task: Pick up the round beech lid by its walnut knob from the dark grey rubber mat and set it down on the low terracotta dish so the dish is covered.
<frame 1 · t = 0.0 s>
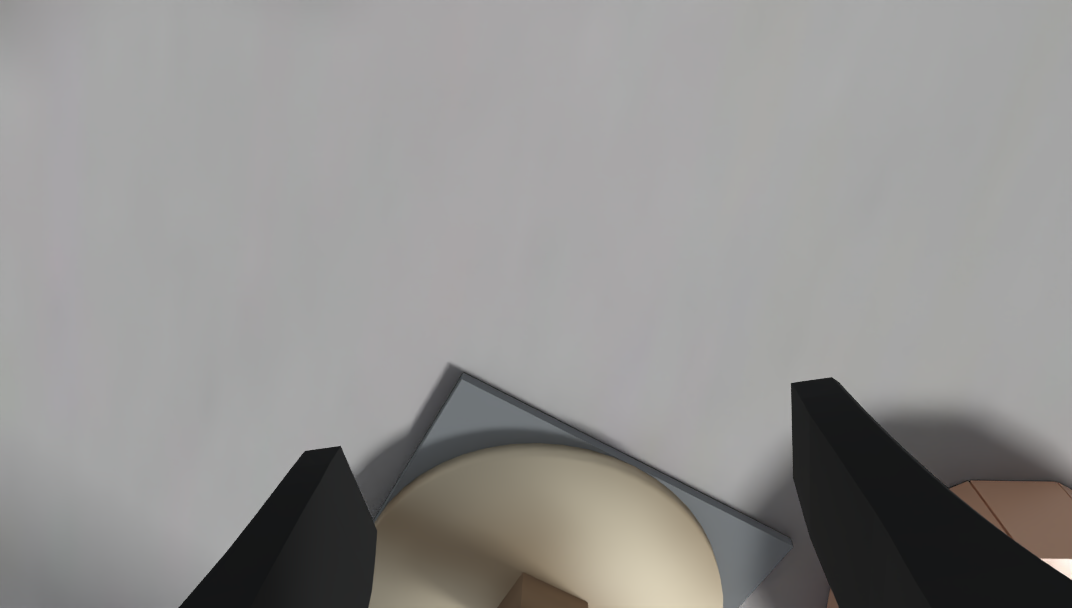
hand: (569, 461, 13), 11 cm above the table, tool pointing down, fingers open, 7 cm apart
mat: (538, 585, 28), on the table
dish: (978, 604, 28), on the table
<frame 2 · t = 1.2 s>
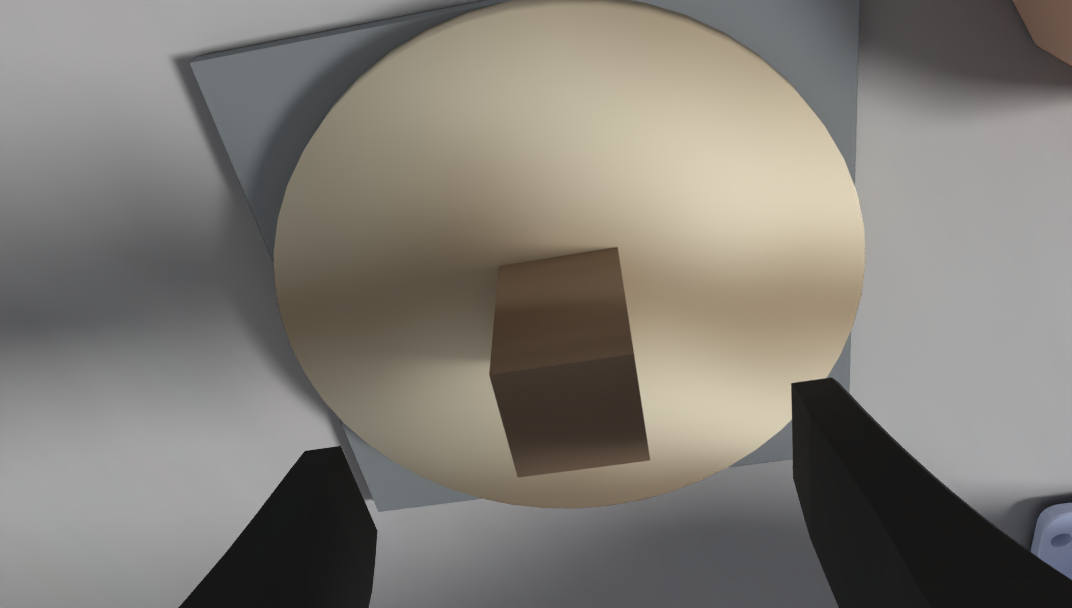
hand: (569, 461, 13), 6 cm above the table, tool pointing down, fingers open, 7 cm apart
mat: (566, 276, 18), on the table
lid: (569, 344, 16), on the mat
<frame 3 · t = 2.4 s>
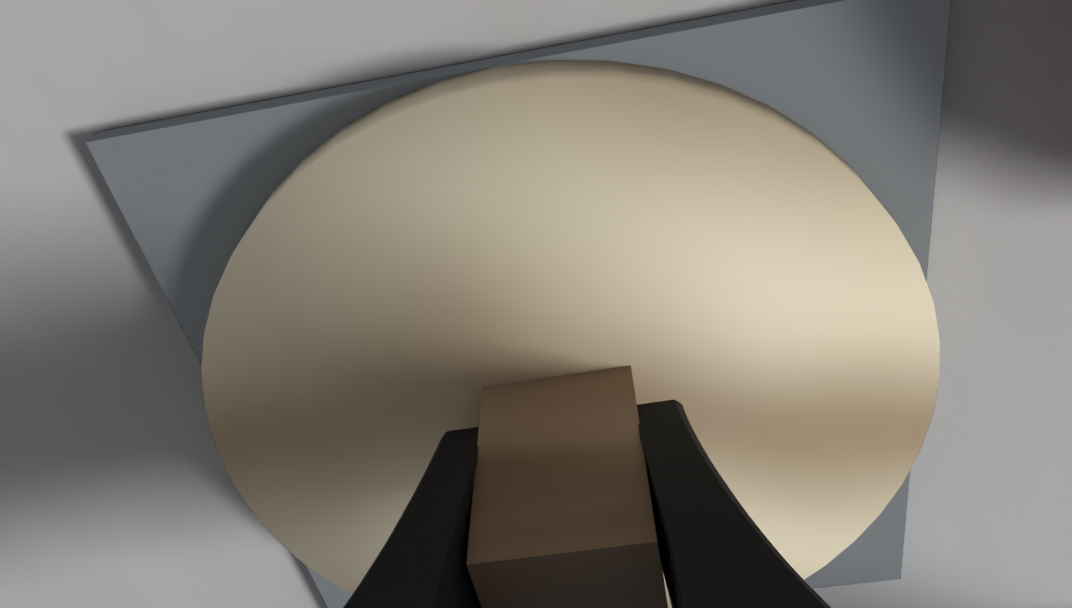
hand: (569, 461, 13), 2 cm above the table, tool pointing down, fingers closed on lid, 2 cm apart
mat: (566, 385, 15), on the table
lid: (570, 491, 13), on the mat, touching gripper
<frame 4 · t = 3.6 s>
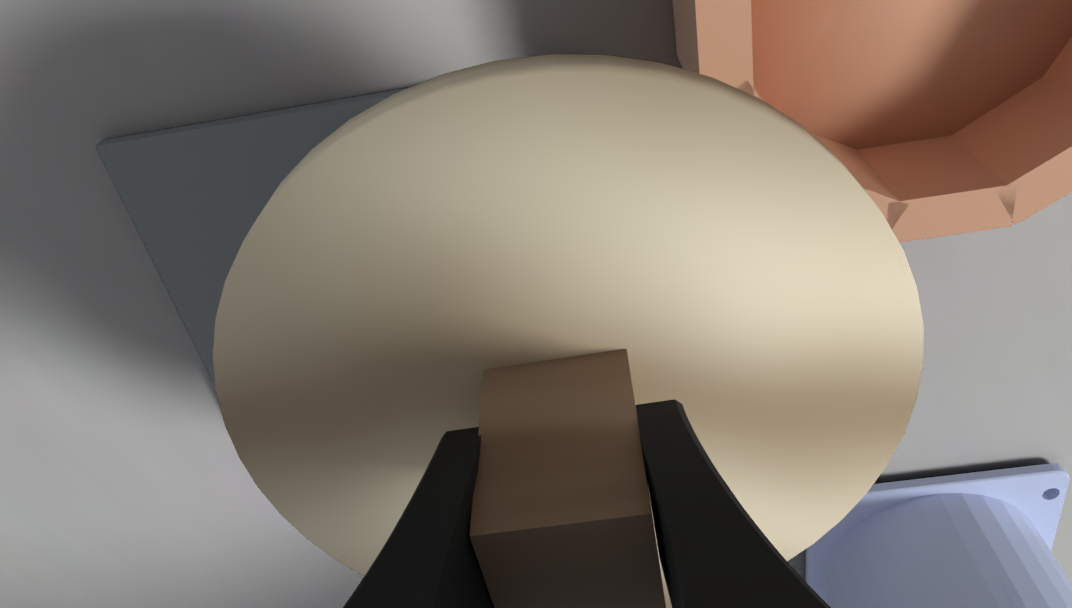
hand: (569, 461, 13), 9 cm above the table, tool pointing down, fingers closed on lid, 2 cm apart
mat: (403, 306, 23), on the table
lid: (568, 469, 13), point 10 cm above the table, touching gripper
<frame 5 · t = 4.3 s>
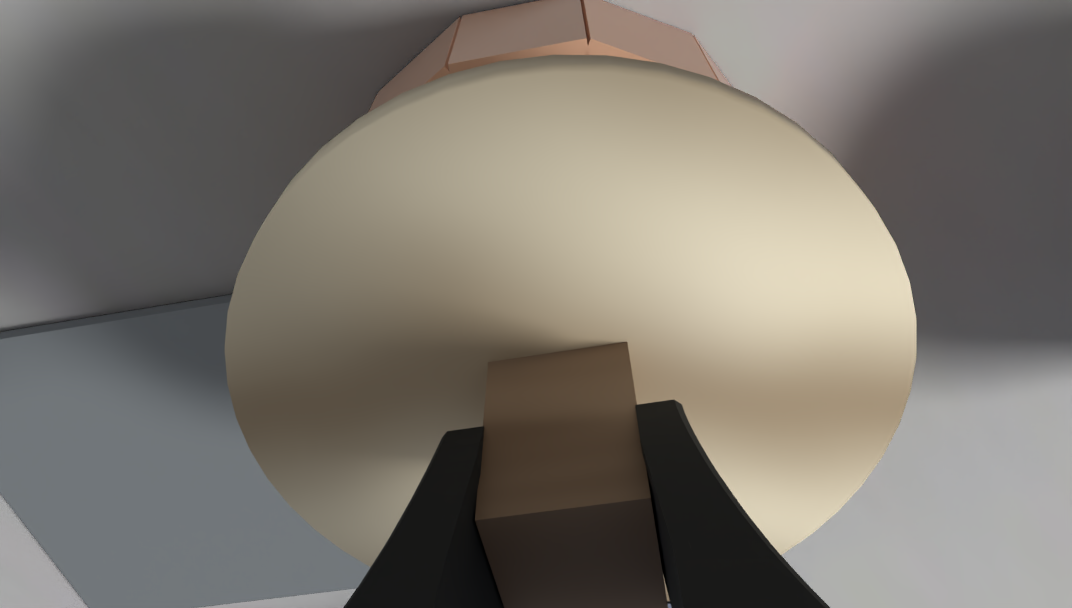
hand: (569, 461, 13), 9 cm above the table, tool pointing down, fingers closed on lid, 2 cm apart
mat: (190, 470, 26), on the table
dish: (559, 205, 21), on the table
lid: (571, 458, 14), point 9 cm above the table, touching gripper
when the fingers open (6 cm above the table, at t = 4.9 s): lid stays where it is, resting on dish.
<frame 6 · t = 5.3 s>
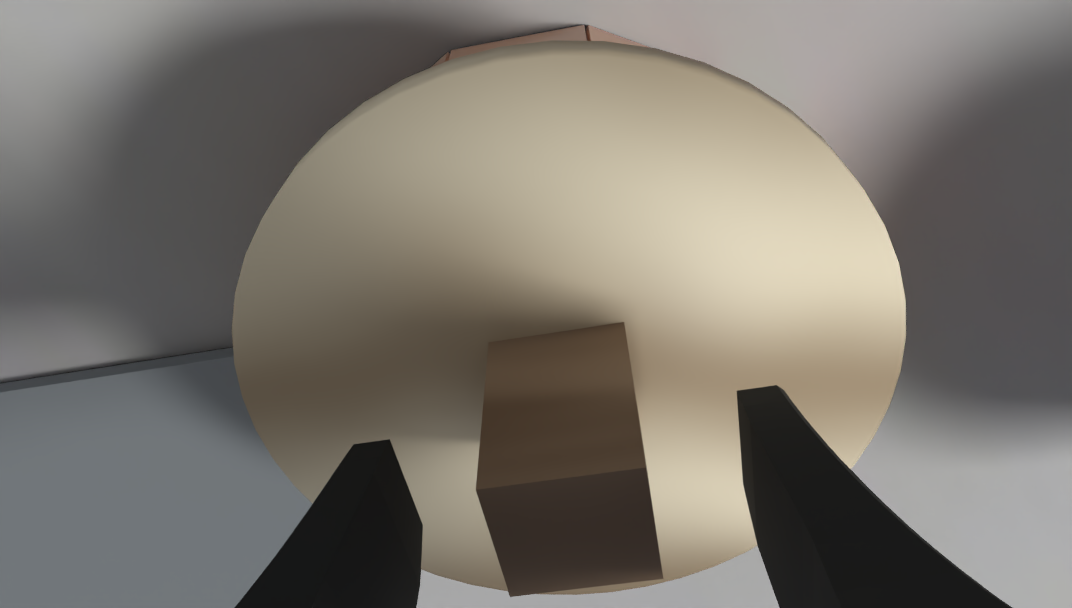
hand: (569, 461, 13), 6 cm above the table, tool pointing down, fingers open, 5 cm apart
mat: (157, 536, 24), on the table
dish: (561, 258, 18), on the table
lid: (569, 435, 14), on the dish, point 6 cm above the table
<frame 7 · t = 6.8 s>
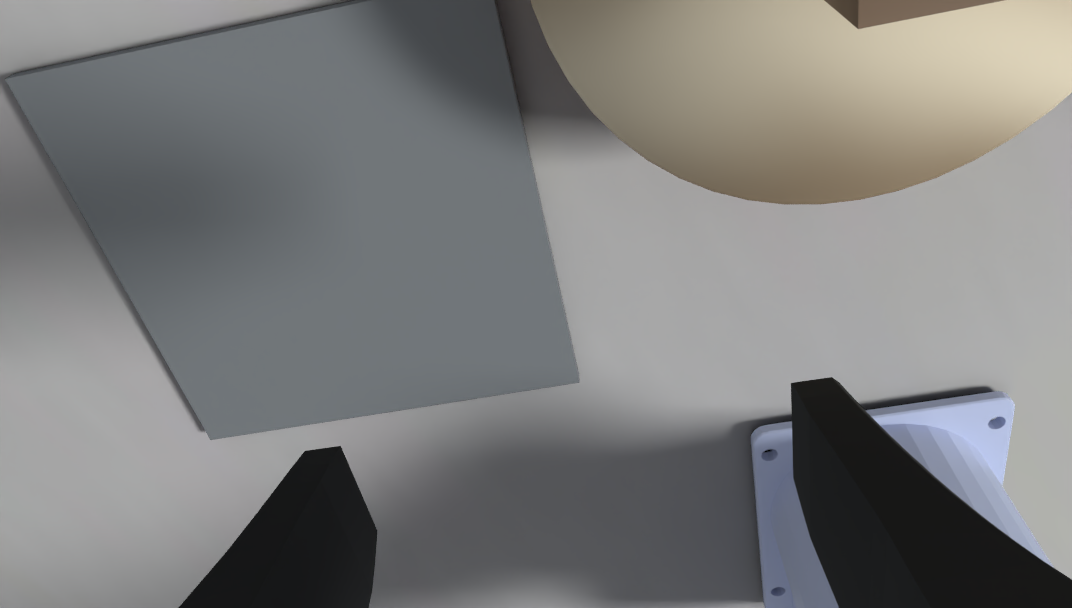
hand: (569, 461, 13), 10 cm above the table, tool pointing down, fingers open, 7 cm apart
mat: (328, 241, 23), on the table
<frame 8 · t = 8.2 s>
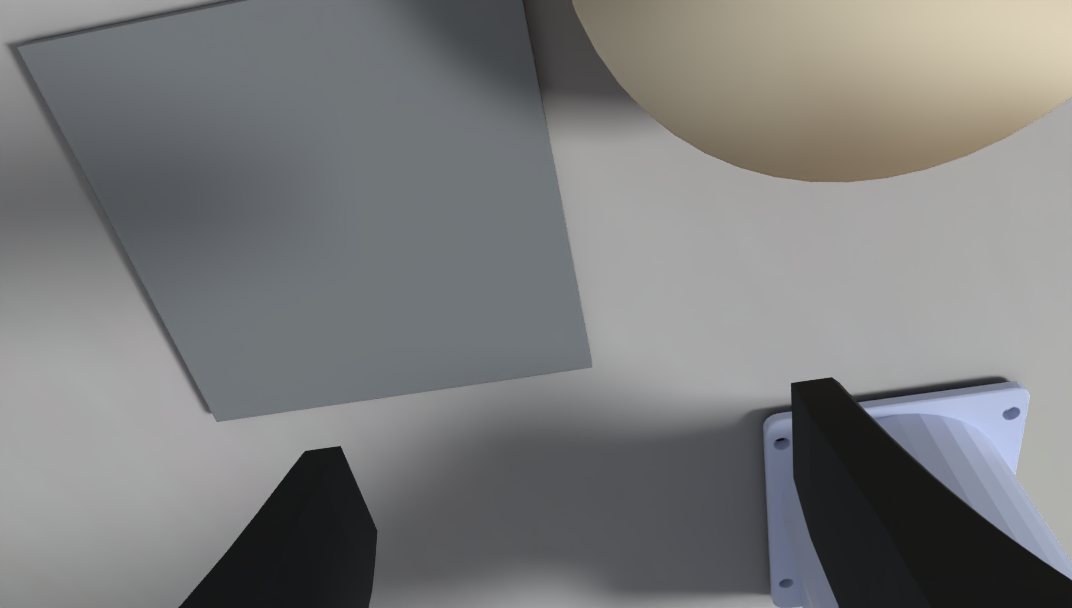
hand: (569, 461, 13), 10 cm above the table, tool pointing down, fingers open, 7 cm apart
mat: (341, 219, 22), on the table
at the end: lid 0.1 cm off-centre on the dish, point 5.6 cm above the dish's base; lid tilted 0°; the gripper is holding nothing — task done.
